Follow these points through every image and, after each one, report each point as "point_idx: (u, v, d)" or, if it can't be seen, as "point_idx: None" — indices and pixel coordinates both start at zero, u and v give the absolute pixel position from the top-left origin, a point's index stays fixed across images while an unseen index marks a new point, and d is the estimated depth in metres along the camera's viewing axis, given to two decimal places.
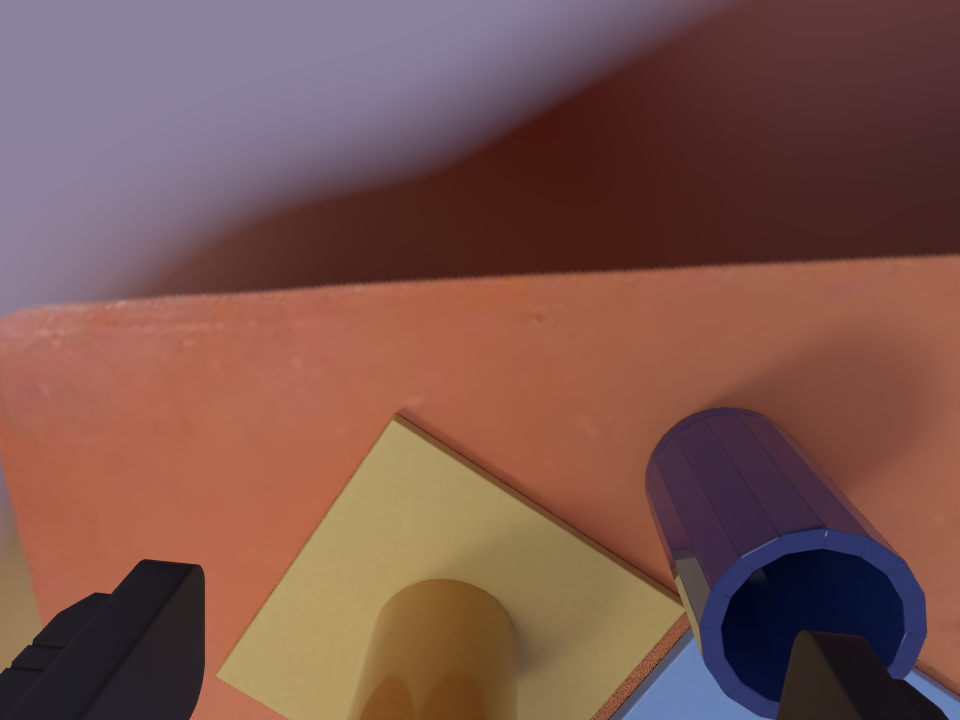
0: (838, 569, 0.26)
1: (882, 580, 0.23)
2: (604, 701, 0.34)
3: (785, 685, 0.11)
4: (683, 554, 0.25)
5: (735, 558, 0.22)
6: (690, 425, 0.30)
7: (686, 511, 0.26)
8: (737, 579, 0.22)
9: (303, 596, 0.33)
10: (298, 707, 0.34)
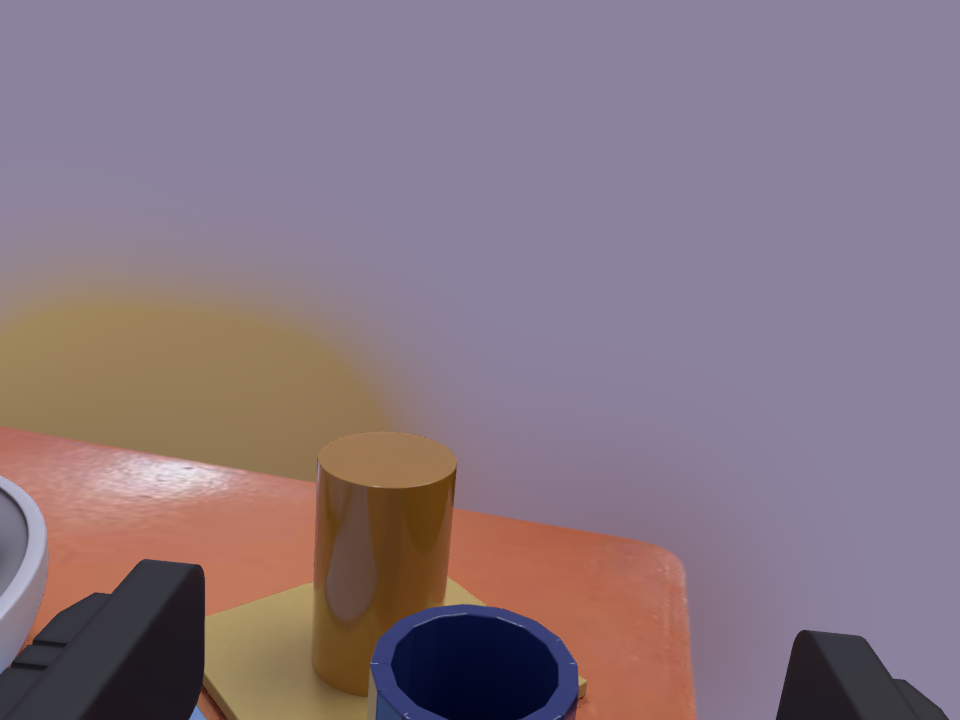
0: None
1: None
2: None
3: (785, 685, 0.11)
4: None
5: None
6: None
7: None
8: (540, 634, 0.25)
9: (454, 599, 0.43)
10: None
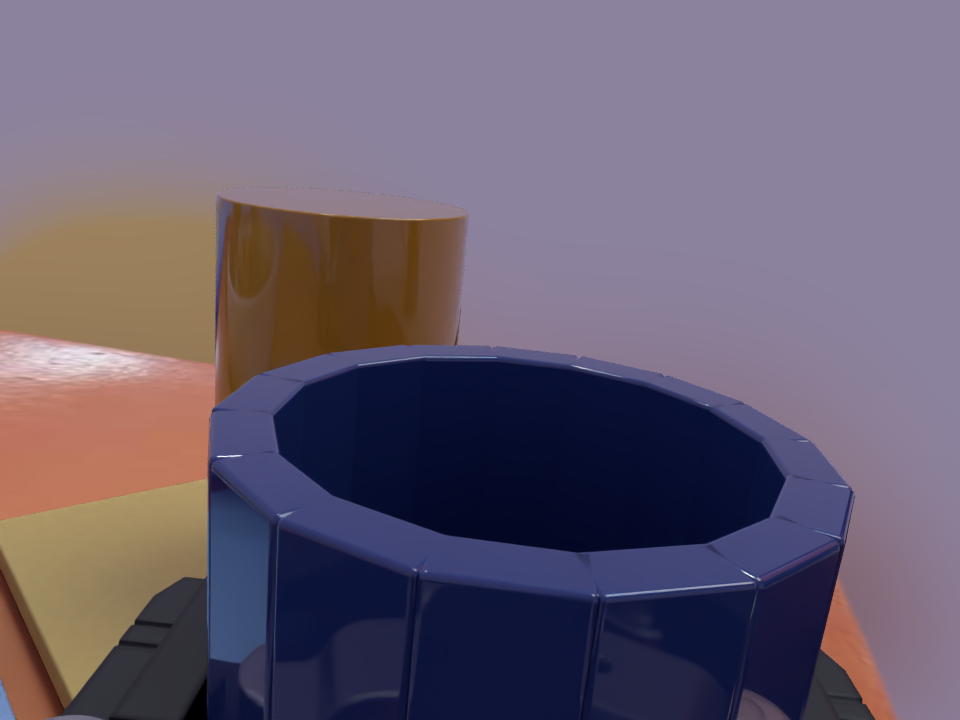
0: None
1: None
2: (74, 690, 0.17)
3: None
4: None
5: None
6: None
7: None
8: (690, 393, 0.10)
9: None
10: None
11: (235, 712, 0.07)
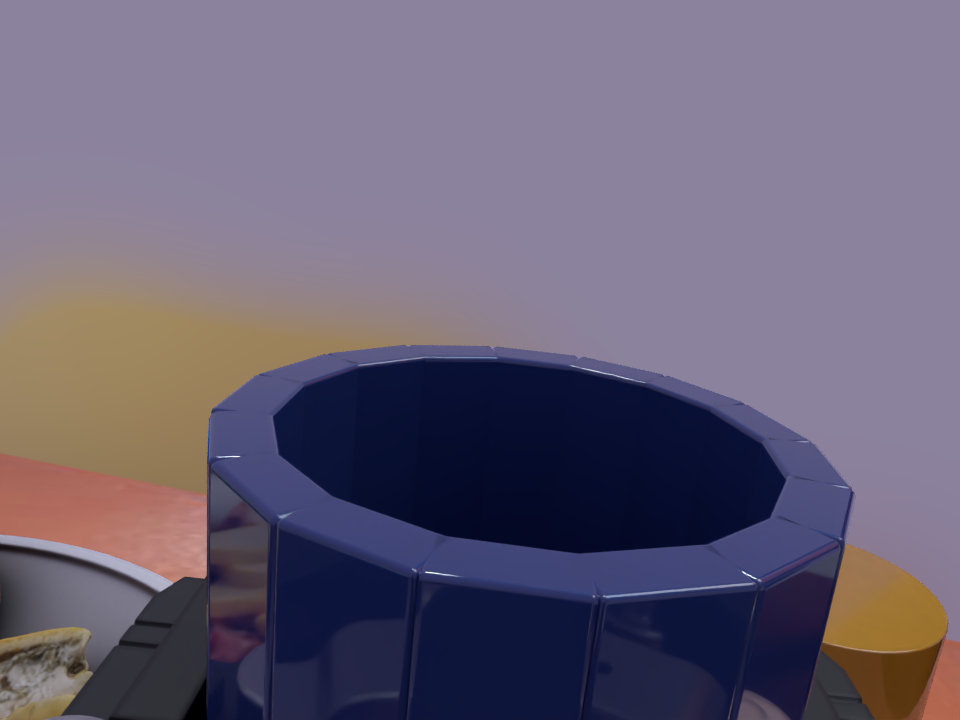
0: None
1: None
2: None
3: None
4: None
5: None
6: None
7: None
8: (690, 393, 0.10)
9: None
10: None
11: (235, 713, 0.07)
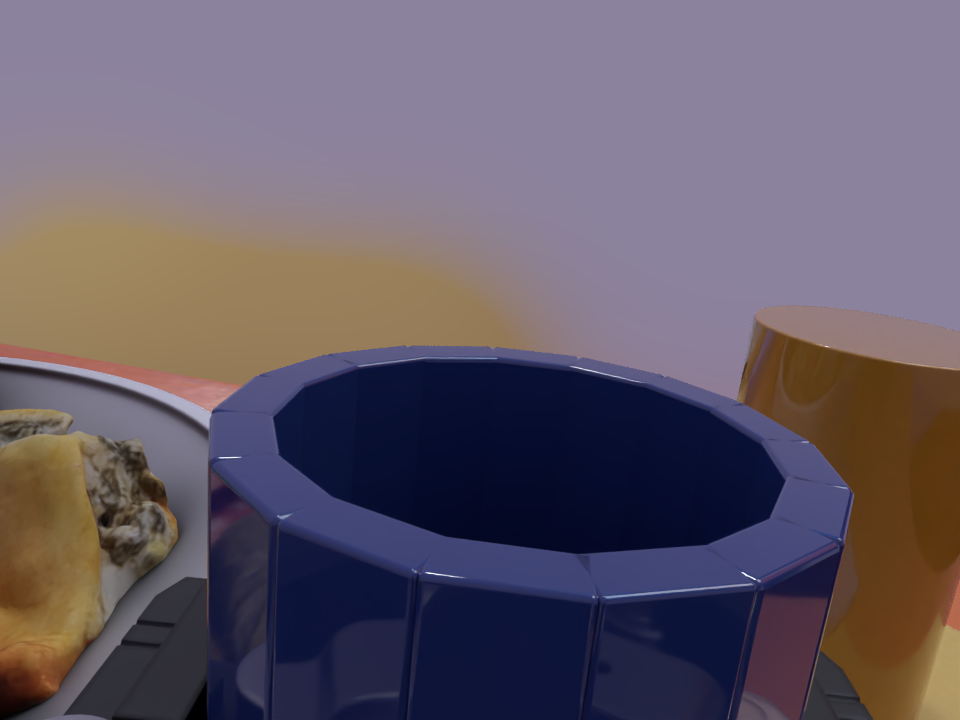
0: None
1: None
2: None
3: None
4: None
5: None
6: None
7: None
8: (690, 394, 0.10)
9: None
10: None
11: (235, 713, 0.07)
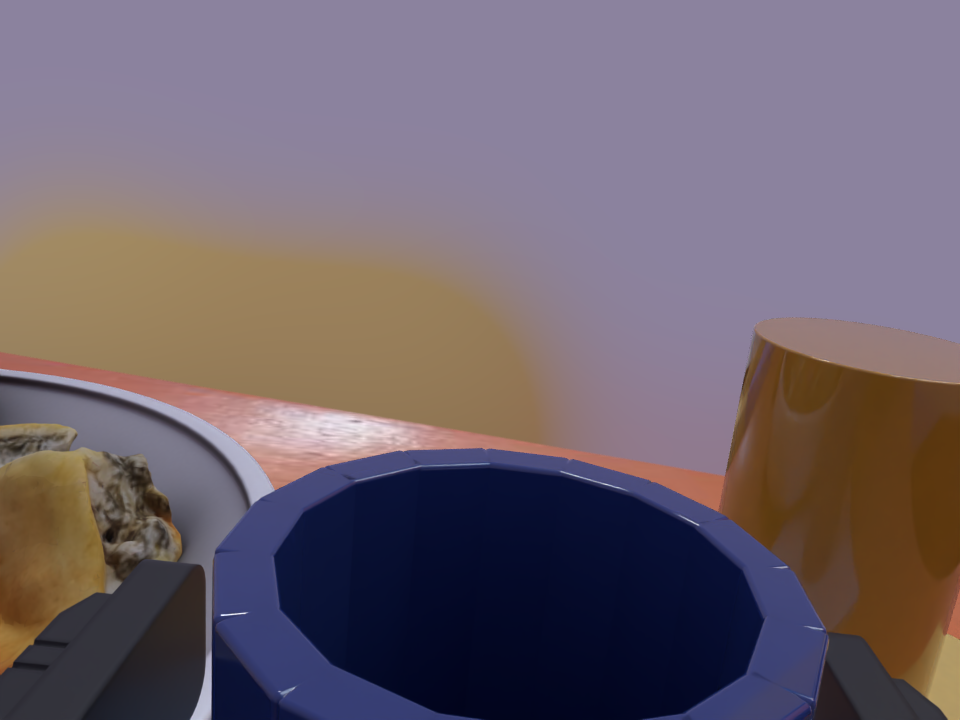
0: None
1: None
2: None
3: None
4: None
5: None
6: None
7: None
8: (675, 506, 0.10)
9: None
10: None
11: None
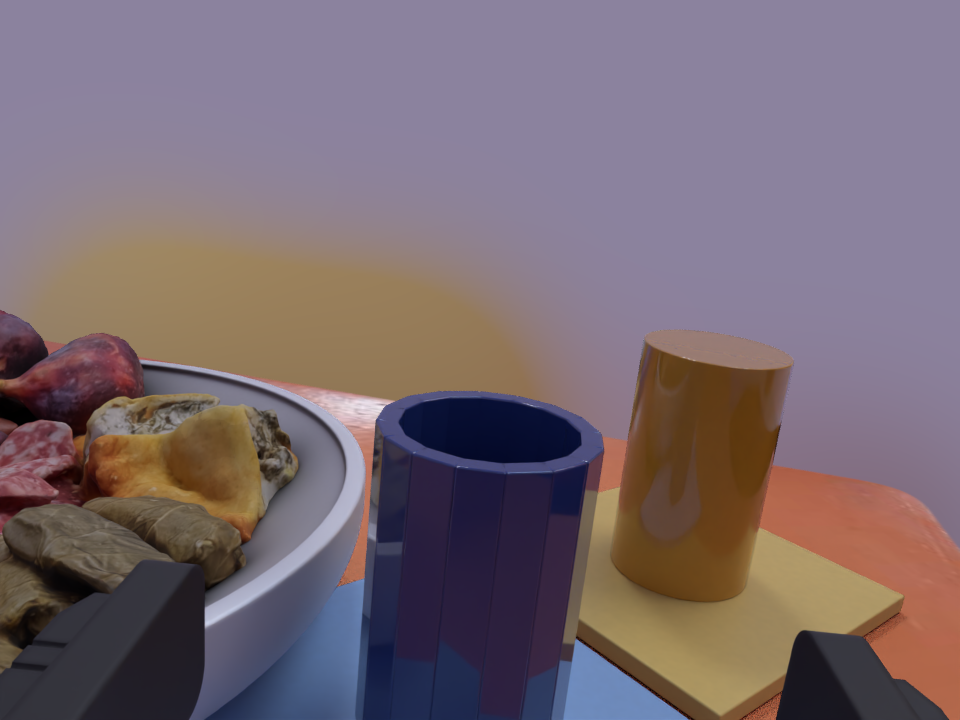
0: None
1: None
2: (600, 630, 0.31)
3: (785, 685, 0.11)
4: None
5: None
6: None
7: None
8: (561, 413, 0.23)
9: None
10: None
11: (391, 520, 0.20)
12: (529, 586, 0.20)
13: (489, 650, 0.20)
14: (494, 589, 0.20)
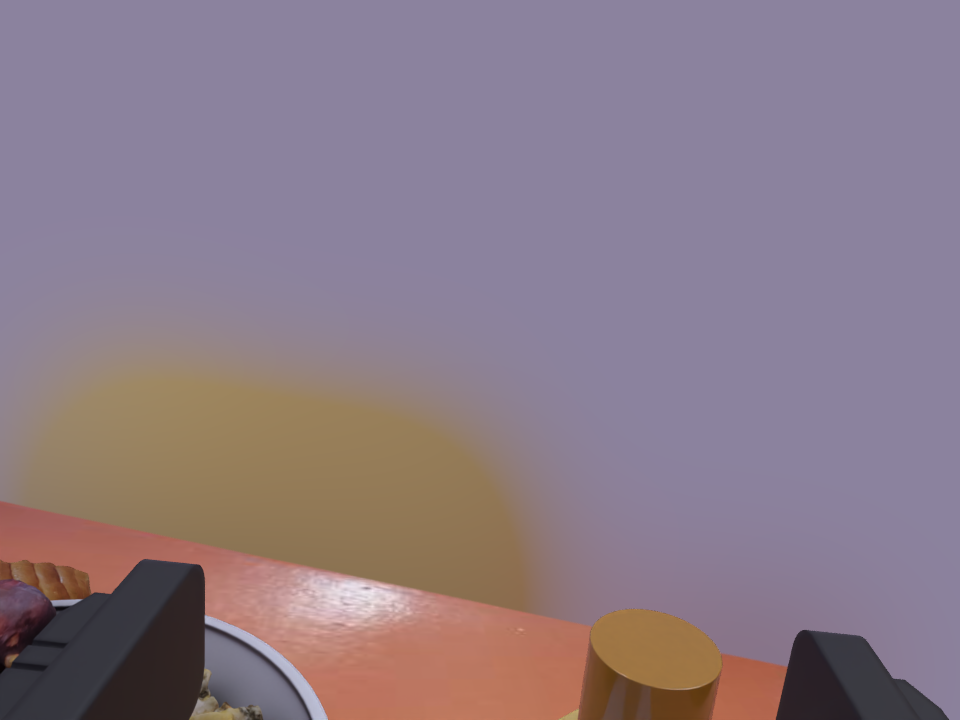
0: None
1: None
2: None
3: (785, 685, 0.11)
4: None
5: None
6: None
7: None
8: None
9: None
10: None
11: None
12: None
13: None
14: None
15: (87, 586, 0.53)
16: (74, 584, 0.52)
